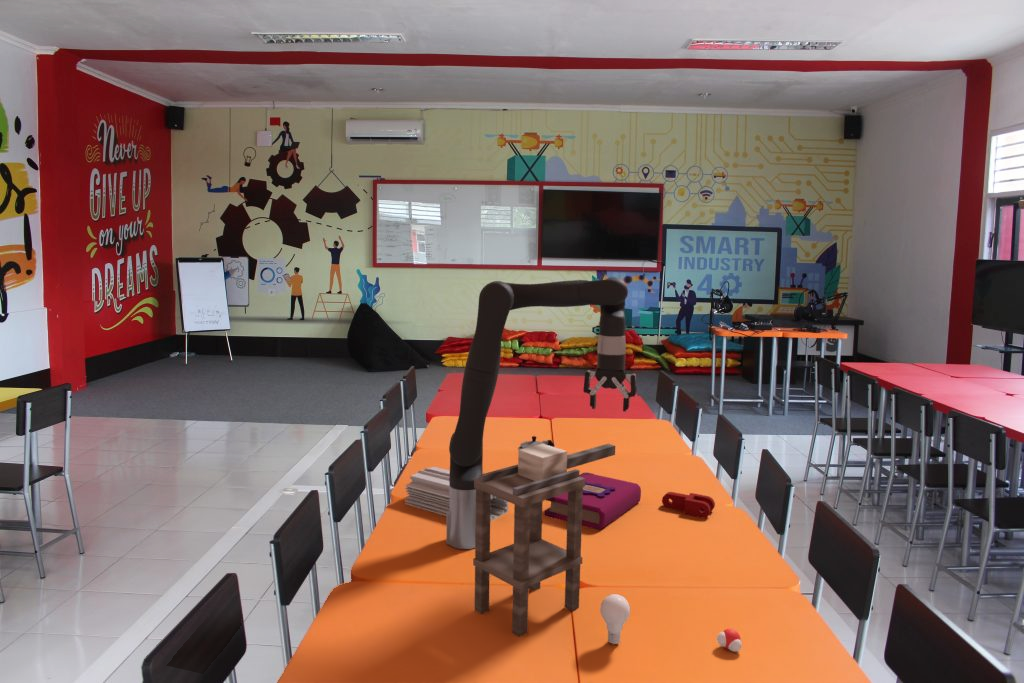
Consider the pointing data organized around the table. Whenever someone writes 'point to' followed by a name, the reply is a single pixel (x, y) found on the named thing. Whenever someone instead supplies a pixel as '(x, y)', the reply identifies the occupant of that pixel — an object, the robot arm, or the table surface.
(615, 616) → the lightbulb
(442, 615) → the table surface
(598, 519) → the book
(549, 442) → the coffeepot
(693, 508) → the mechanical linkage
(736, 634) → the molecule
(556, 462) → the wooden mallet
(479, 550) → the shelf stand
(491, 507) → the stack of papers
